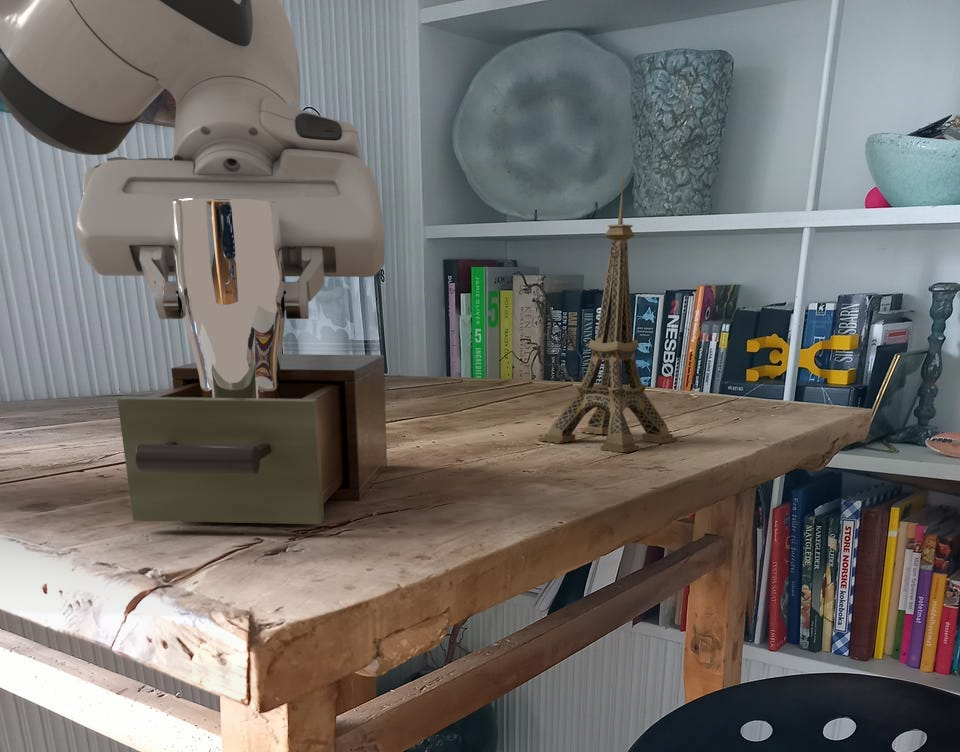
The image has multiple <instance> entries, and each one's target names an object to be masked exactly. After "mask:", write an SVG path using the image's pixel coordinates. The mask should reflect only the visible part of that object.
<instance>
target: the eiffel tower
mask: <svg viewBox="0 0 960 752" xmlns="http://www.w3.org/2000/svg"><path fill="white" fill-rule="evenodd" d="M623 190H624V178H623V177H622V179H621V193H620V194H621V195H620V202H619V212H618V222H617V224H608V225H607V227H608V229H607V231H606V232H605V233H604V236H605V237H606V238H608V239H609V240H611V241H610V249H609V256H608V261H607V267H606V274H605V280H604V287H603V288H604V289H603V293H602V299H601V306H600V311H599V318H598V324H597V331H596V337H595V340H593V339H590V340H589V343H588V345H587V348H588V349H591V356H590V359H589V362H588V366H587V368H586V372H585V375H584V377H583V378H582V381H581V383H580V385H575V387H576V389H577V393H576V394H575V396H574V397H572V399H571V401H570V402H569V403H568V404H567V406H566V407H565V408H564V409H563V411H561V413H560V414H559V416H558V417H557V418H556V419H555V421H554V422H553V423H552V424H551V425H550V428H549V430H548V432H547V434H544V436H542V437H538V442H542V441H547V442H546V443H549V442H555V443H554V444H556V443H562V444H564V443H563V442H567V443H569V442H568V441H572V442H574V441H573V440H575V441H576V434H575V433H574V434H573V432H574V431H575V429H576V428H577V427H578V426H579V424H580V422H581V421H582V419H584V417H585V416H586V415H587V414H588V413H590V411H593V409H595V410H594V412H593V413H592V415H591V416H590V418H589V420H588V421H587V426H585V427H584V429H581V432H589V433H595V434H605V433H607V435H606V439H605V441H604V442H603V441H602V442H603V443H602V445H600V449H602V450H601V451H607V450H608V451H607V452H616V453H622V452H625V453H628V451H629V452H633V451H637V450H639V448H640V446H639V445H636V441H633V438H634V436H633V435H632V432H631V429H630V426H629V425H628V422H627V419H626V417H625V415H624V411H625V410H626V408H628V409H629V411H631V412H632V413H633V414H634V416H635V418H636V419H637V420H638V422H639V424H640V426H641V427H642V429H643V430H644V432H645V433H642V434H641V435H642V436H641V441H642V442H643V441H644V442H651V443H658V444H667V443H671V442H676V441H678V440H679V437H678V436H674V434H673V433H670V430H669V427H668V424H667V423H666V422H665V421H664V419H663V418H662V416H661V414H660V413H659V411H658V410H657V409H656V407H655V406H654V404H653V403H652V401H651V400H650V398H649V397H648V396H647V394H646V393H645V390H646V388H647V386H648V385H647V384H643V382H642V380H641V377H640V375H639V371H638V370H639V369H638V365H637V360H636V355H635V352H636V350H637V349H639V348H640V345H639V341H638V339H633V329H632V312H631V310H632V309H631V293H630V273H629V271H630V270H629V268H630V267H629V250H628V249H629V248H628V247H629V246H628V240H630V239H632V238H633V237H635V236H636V234H635V233H634V231H633V230H632V228H633V224H624V220H623V218H624V217H623V216H624V215H623V214H624V213H623V212H624V206H623V205H624V194H623V193H624V191H623ZM603 361H604V364H603V363H602V362H603ZM622 361H623V365H624V371H625V376H626V381H627V383H628V384H623V373H622ZM602 364H603V369H602V375H601V381H600V383H598V384H595V383H596V382H597V380H598V377H599V373H600V370H601V367H602ZM595 434H594V435H595Z"/></svg>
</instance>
